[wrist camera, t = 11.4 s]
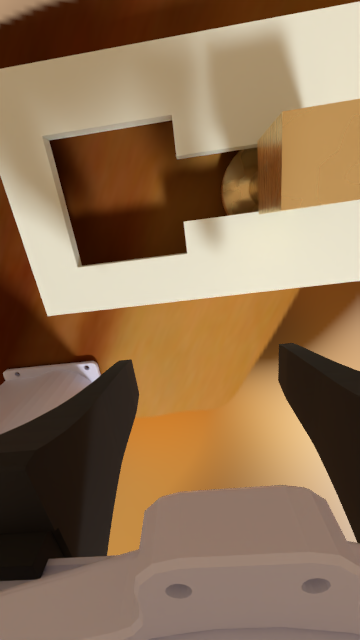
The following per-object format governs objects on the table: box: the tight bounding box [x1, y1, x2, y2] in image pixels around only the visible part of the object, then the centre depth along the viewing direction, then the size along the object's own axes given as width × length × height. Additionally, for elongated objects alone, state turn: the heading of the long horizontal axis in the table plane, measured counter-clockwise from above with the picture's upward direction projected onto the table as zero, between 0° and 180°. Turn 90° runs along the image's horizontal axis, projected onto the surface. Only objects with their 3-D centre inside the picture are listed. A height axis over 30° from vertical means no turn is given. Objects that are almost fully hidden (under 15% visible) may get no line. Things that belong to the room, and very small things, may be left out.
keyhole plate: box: [0, 1, 360, 316], centre depth 17 cm, size 24×14×4 cm, turn 97°
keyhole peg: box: [221, 99, 360, 216], centre depth 14 cm, size 6×6×9 cm
